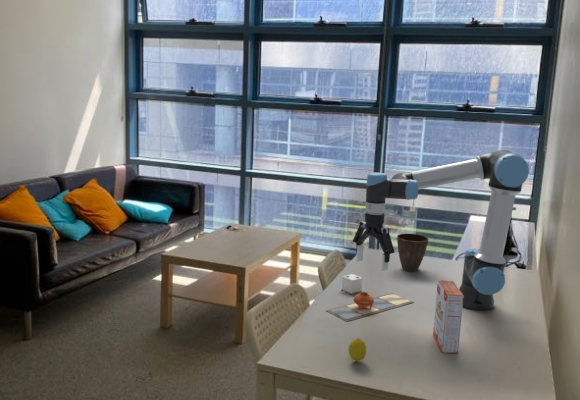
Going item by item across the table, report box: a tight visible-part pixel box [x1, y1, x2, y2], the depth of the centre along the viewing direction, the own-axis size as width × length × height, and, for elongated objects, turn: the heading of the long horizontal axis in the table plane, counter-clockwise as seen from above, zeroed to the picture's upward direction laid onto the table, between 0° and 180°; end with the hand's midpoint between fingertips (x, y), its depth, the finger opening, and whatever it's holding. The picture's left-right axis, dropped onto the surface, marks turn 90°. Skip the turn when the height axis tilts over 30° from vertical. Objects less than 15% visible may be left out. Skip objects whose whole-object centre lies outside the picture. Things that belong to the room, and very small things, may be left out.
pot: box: [353, 291, 374, 310], centre depth 226 cm, size 8×8×7 cm
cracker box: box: [432, 280, 464, 354], centre depth 196 cm, size 14×6×21 cm, turn 178°
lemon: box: [348, 337, 367, 363], centre depth 182 cm, size 6×6×8 cm
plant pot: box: [396, 233, 429, 272], centre depth 277 cm, size 15×15×16 cm
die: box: [341, 273, 363, 294], centre depth 246 cm, size 6×6×6 cm
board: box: [325, 292, 414, 322], centre depth 229 cm, size 12×37×1 cm, turn 127°
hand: (371, 265), depth 225 cm, fingers open, 13 cm apart
